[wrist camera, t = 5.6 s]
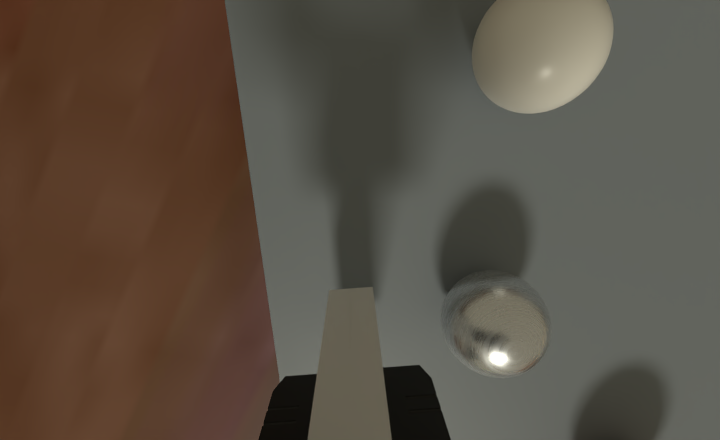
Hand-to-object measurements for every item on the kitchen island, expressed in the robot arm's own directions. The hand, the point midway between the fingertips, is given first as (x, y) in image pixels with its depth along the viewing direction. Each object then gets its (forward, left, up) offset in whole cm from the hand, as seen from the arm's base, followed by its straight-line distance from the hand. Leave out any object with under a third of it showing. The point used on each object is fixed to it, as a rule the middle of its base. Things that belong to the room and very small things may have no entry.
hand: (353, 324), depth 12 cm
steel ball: (+5, 0, 0) cm, 5 cm away
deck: (+13, 0, -4) cm, 13 cm away
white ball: (+6, +8, 0) cm, 10 cm away
